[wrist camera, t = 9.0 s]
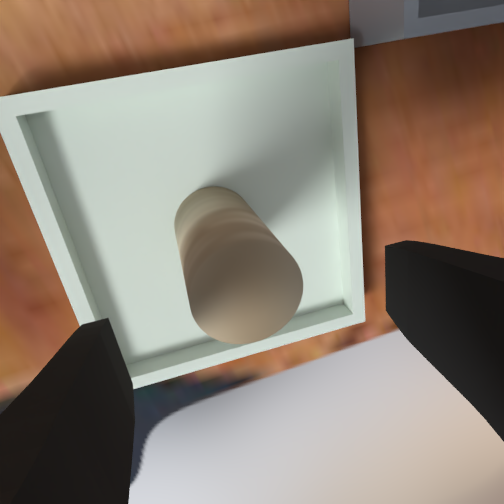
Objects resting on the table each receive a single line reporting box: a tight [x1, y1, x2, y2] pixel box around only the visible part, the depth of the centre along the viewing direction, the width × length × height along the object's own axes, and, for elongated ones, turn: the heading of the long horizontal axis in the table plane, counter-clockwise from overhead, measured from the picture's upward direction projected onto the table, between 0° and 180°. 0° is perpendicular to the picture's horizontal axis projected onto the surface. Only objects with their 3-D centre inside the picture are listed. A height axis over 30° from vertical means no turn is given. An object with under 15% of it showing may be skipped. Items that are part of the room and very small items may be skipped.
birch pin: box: [174, 186, 303, 344], centre depth 13 cm, size 3×3×6 cm
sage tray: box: [0, 38, 365, 389], centre depth 16 cm, size 12×12×2 cm
